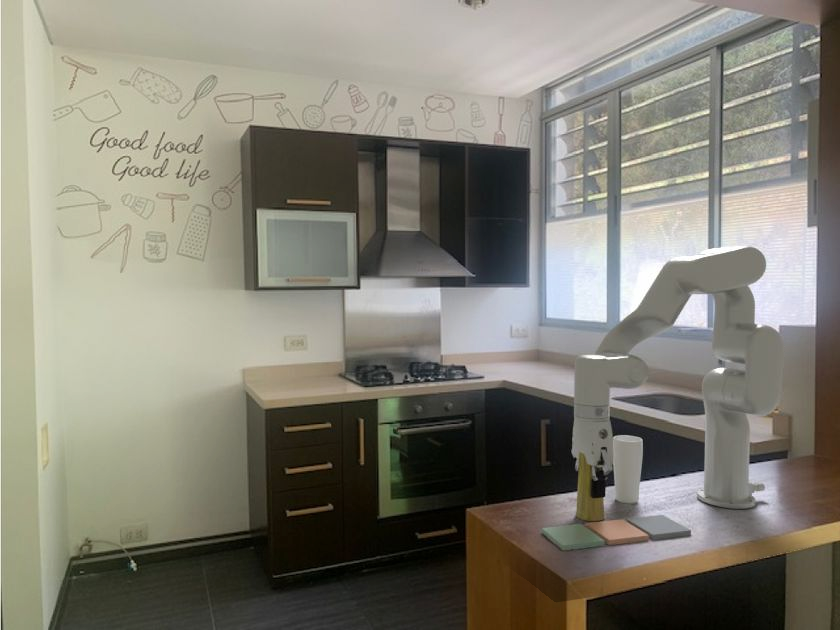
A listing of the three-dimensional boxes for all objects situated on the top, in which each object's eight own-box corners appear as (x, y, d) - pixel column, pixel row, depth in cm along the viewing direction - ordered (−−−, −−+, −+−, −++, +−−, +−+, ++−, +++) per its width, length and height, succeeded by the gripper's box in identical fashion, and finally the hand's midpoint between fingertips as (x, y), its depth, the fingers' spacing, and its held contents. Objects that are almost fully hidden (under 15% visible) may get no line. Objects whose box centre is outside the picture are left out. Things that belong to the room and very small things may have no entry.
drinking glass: (643, 506, 143) (645, 442, 143) (613, 504, 145) (614, 441, 144) (639, 497, 150) (640, 435, 149) (610, 495, 151) (611, 434, 151)
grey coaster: (662, 519, 135) (662, 514, 135) (690, 535, 127) (690, 530, 127) (626, 523, 133) (626, 518, 133) (652, 539, 124) (653, 534, 124)
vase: (585, 509, 141) (585, 447, 140) (609, 516, 137) (610, 452, 136) (570, 516, 137) (571, 452, 136) (595, 524, 132) (596, 458, 132)
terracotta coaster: (622, 523, 133) (622, 519, 133) (648, 540, 124) (648, 535, 124) (585, 528, 130) (585, 523, 130) (609, 545, 122) (609, 540, 121)
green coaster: (580, 528, 130) (580, 523, 130) (604, 545, 121) (604, 540, 121) (541, 532, 127) (541, 528, 127) (563, 550, 119) (563, 545, 119)
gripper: (629, 418, 128) (628, 504, 129) (586, 403, 145) (585, 480, 146) (597, 420, 126) (596, 507, 127) (557, 405, 143) (556, 482, 144)
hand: (590, 492), depth 136 cm, fingers closed on vase, 5 cm apart
